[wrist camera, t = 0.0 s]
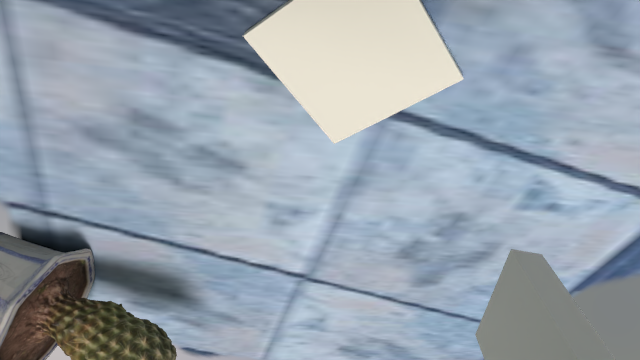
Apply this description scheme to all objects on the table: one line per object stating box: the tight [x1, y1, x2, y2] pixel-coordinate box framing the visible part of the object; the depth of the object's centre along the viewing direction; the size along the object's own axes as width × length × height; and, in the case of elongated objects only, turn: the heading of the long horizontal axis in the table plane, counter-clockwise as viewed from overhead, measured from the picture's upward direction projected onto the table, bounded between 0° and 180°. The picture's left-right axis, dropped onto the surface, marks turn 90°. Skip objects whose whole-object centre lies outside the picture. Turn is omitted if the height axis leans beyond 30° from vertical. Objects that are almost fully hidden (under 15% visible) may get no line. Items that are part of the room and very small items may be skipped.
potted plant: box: [0, 232, 177, 360], centre depth 56 cm, size 18×18×30 cm
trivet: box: [243, 0, 463, 144], centre depth 37 cm, size 13×13×1 cm
